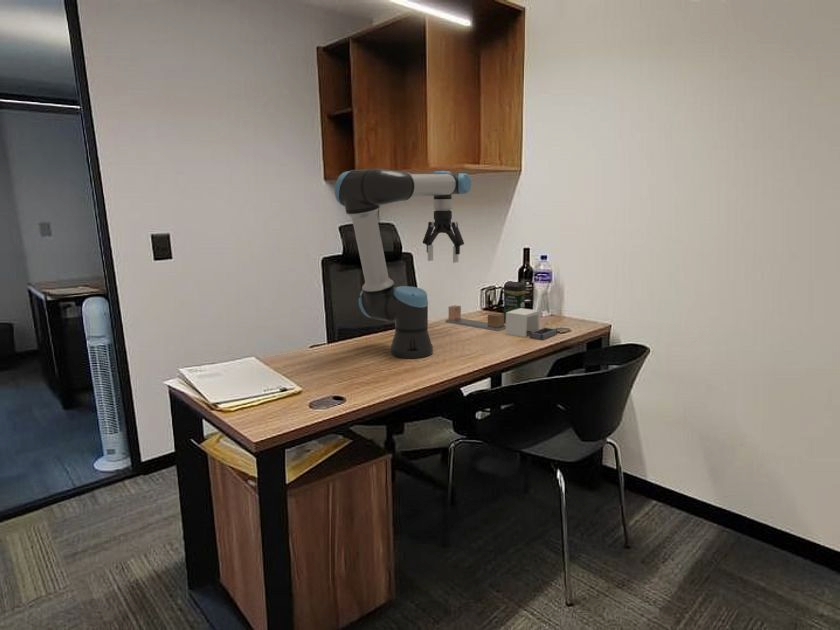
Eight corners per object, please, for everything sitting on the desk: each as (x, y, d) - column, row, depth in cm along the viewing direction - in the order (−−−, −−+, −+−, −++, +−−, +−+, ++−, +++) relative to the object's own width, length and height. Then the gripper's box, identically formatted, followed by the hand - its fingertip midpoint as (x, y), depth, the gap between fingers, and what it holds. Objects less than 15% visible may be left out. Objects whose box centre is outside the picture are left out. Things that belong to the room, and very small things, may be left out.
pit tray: (542, 341, 199) (542, 335, 199) (529, 338, 203) (529, 332, 202) (556, 335, 208) (557, 329, 208) (544, 333, 212) (544, 327, 211)
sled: (498, 331, 215) (498, 314, 214) (445, 322, 233) (445, 306, 232) (507, 328, 220) (507, 312, 219) (454, 319, 238) (454, 304, 237)
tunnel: (525, 337, 205) (525, 315, 203) (505, 334, 210) (505, 312, 209) (539, 332, 213) (539, 310, 211) (519, 329, 219) (520, 308, 217)
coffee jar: (499, 323, 231) (500, 282, 228) (509, 320, 237) (510, 280, 234) (518, 326, 225) (519, 283, 221) (527, 323, 231) (529, 281, 227)
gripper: (472, 209, 208) (472, 262, 213) (425, 210, 224) (426, 259, 229) (461, 209, 203) (461, 263, 207) (414, 210, 219) (414, 260, 223)
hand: (442, 261), depth 218 cm, fingers open, 13 cm apart
